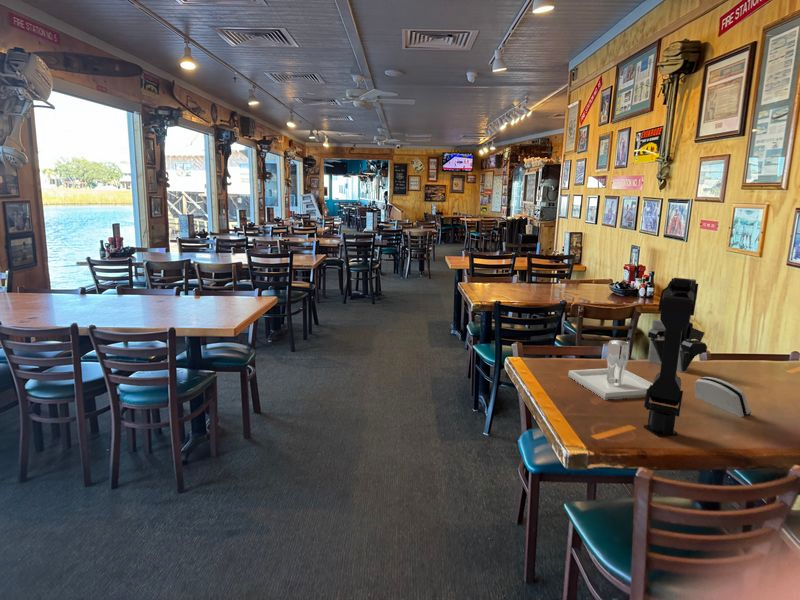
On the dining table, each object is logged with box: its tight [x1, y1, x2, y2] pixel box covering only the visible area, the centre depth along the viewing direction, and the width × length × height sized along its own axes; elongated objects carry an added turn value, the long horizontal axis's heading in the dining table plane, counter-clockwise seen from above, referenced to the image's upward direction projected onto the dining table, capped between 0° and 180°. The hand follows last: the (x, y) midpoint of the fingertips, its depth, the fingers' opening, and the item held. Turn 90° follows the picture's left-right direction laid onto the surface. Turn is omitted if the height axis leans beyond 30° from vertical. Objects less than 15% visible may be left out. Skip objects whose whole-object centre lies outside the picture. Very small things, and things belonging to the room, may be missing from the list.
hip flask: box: [647, 318, 690, 374], centre depth 200 cm, size 16×4×20 cm, turn 29°
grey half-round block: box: [694, 376, 753, 418], centre depth 162 cm, size 17×5×10 cm, turn 18°
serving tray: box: [567, 367, 653, 401], centre depth 179 cm, size 22×22×2 cm
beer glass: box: [605, 339, 630, 387], centre depth 177 cm, size 7×7×15 cm
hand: (672, 366), depth 161 cm, fingers open, 9 cm apart
